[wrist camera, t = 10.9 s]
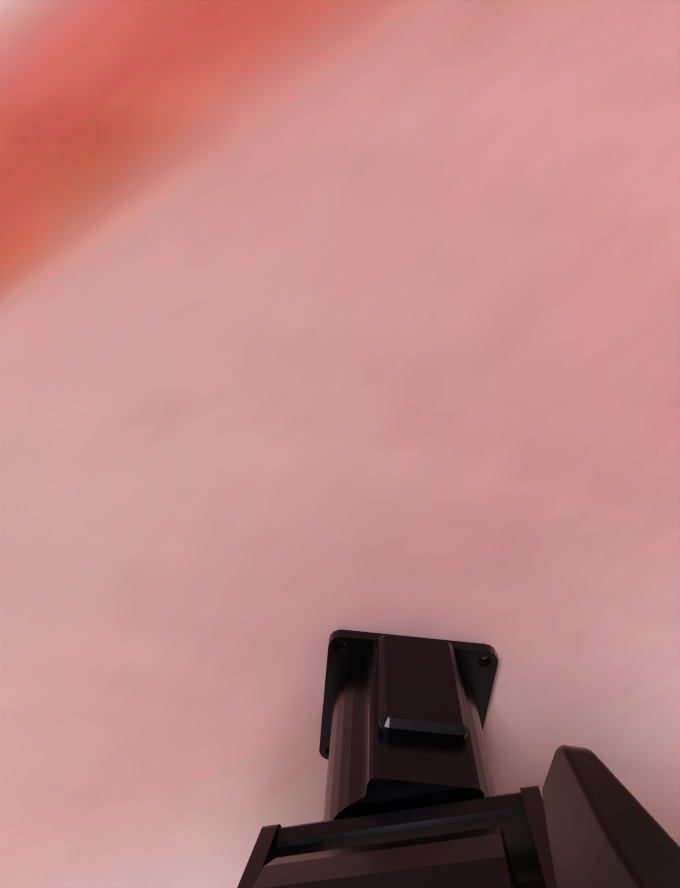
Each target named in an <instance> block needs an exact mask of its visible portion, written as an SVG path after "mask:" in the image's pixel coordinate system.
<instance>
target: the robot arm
mask: <svg viewBox="0 0 680 888" xmlns="http://www.w3.org/2000/svg"><path fill="white" fill-rule="evenodd" d="M338 642H344V643H346V645H339V644H337V643H338ZM485 656H486V657H488V658H486V659H483V660H481V659H479V658H481V657H485ZM497 664H498V659H497V655H496V652H495V650H494V648H493V647H491V646H490V645H486V644H479V643H469V642H459V641H449V640H439V639H429V638H419V637H409V636H399V635H390V634H380V633H370V632H360V631H350V630H337V631H335V632H333V633H332V634H331V635H330V638H329V646H328V657H327V668H326V680H325V691H324V703H323V714H322V726H321V737H320V749H319V751H320V754H321V756H322V757H324V758H325V759H328V760H329V761H328V773H327V785H326V796H325V808H324V820H323V821H321V822H315V823H308V824H301V825H294V826H288V827H281V825H280V824H278V825H271V826H264V827H262V829H261V831H260V834H259V836H258V839H257V841H256V844H255V846H254V849H253V851H252V853H251V856H250V858H249V861H248V863H247V866H246V868H245V870H244V873H243V875H242V878H241V880H240V883H239V885H238V887H237V888H680V846H679V845H678V844H677V843H676V842H675V841H674V840H673V839H672V837H671V836H670V835H669V834H668V833H667V832H666V831H665V830H664V829H663V828H662V827H661V826H660V824H659V823H658V822H657V821H656V820H655V819H654V818H653V817H652V816H651V815H650V814H649V812H648V811H647V810H646V809H645V808H644V807H643V806H642V805H641V804H640V803H639V802H638V800H637V799H636V798H635V797H634V796H633V795H632V794H631V793H630V792H629V791H628V790H627V789H626V787H625V786H624V785H623V784H622V783H621V782H620V781H619V780H618V779H617V778H616V777H615V775H614V774H613V773H612V772H611V771H610V770H609V769H608V768H607V767H606V766H605V765H604V763H603V762H602V761H601V760H600V759H599V758H598V757H597V756H596V755H595V754H594V753H593V752H592V751H590V750H589V749H586V748H581V747H573V746H566V745H562V746H560V747H559V748H558V749H557V750H556V752H555V755H554V758H553V761H552V763H551V766H550V769H549V772H548V775H547V778H546V780H545V783H544V787H543V800H542V797H541V794H540V790H539V787H538V786H533V787H526V788H520V790H521V792H517V793H510V794H504V795H497V796H496V792H495V787H494V783H493V778H492V773H491V769H490V764H489V759H488V755H487V750H486V746H485V741H484V736H483V732H482V730H483V725H484V721H485V717H486V712H487V708H488V703H489V699H490V695H491V690H492V686H493V681H494V677H495V673H496V668H497Z"/></svg>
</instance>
